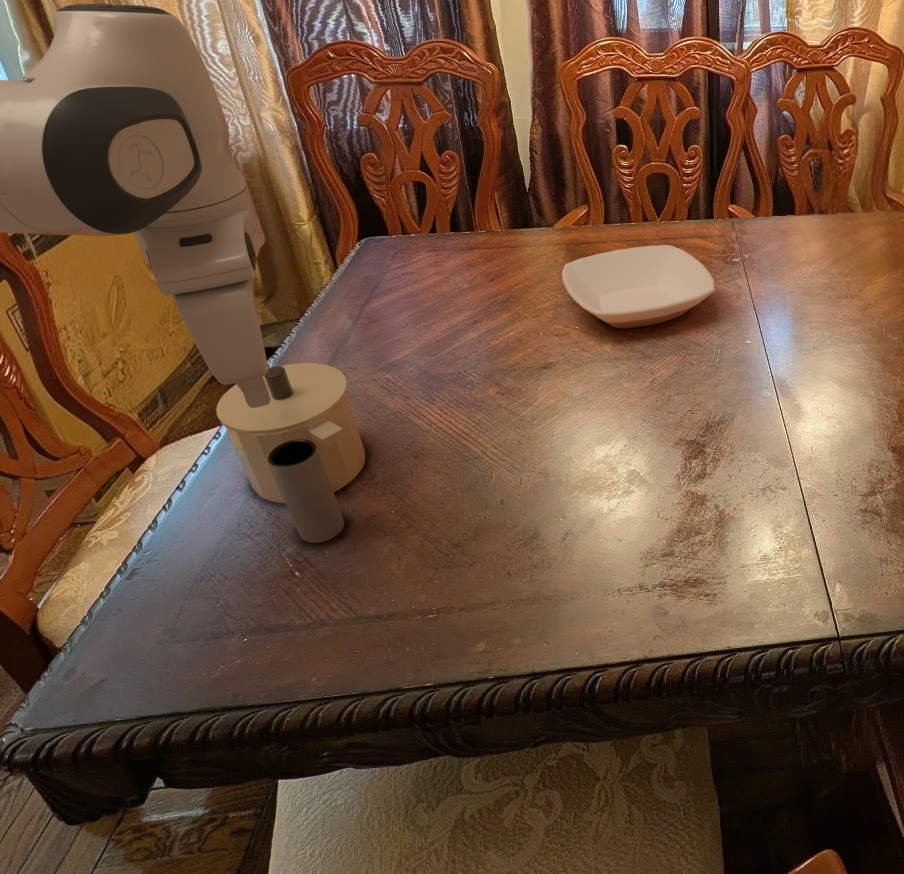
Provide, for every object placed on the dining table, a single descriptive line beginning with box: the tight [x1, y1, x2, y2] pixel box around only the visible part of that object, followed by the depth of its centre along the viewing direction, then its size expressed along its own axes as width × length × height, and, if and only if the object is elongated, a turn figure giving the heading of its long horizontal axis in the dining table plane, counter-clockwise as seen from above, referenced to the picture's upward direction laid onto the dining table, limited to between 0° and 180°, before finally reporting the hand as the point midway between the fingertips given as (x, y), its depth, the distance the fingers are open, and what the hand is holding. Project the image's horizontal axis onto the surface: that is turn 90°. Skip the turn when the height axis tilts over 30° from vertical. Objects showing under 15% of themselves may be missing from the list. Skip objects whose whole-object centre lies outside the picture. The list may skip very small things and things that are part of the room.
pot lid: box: [215, 362, 349, 434], centre depth 87 cm, size 13×13×4 cm
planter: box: [268, 439, 345, 544], centre depth 82 cm, size 4×4×10 cm
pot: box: [225, 394, 366, 504], centre depth 91 cm, size 12×18×10 cm
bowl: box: [561, 244, 716, 329], centre depth 122 cm, size 22×22×5 cm
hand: (256, 377), depth 72 cm, fingers open, 8 cm apart
